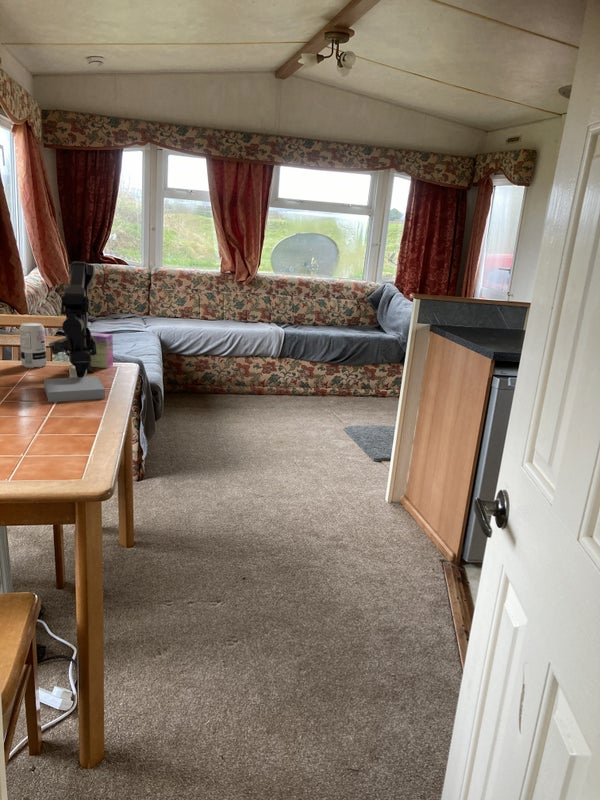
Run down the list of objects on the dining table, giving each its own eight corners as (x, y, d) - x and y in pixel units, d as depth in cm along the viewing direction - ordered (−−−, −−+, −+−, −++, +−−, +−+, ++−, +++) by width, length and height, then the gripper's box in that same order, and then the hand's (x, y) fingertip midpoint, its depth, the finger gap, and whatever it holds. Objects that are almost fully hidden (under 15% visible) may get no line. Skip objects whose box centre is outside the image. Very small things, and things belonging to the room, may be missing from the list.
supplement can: (22, 363, 221) (20, 322, 216) (47, 363, 223) (45, 322, 219) (20, 368, 213) (17, 326, 209) (46, 368, 216) (43, 326, 212)
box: (113, 365, 226) (112, 333, 223) (107, 368, 221) (106, 336, 218) (86, 362, 227) (85, 331, 224) (79, 366, 222) (78, 334, 218)
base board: (44, 388, 191) (43, 379, 190) (97, 385, 198) (96, 376, 197) (48, 402, 178) (48, 392, 177) (105, 398, 185) (104, 388, 184)
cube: (69, 379, 203) (68, 365, 202) (85, 379, 205) (84, 364, 204) (71, 383, 199) (70, 368, 198) (87, 382, 201) (86, 367, 200)
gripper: (47, 326, 202) (49, 372, 206) (52, 336, 186) (54, 385, 190) (82, 325, 207) (84, 370, 211) (90, 335, 191) (92, 383, 195)
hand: (78, 377), depth 202 cm, fingers open, 9 cm apart
